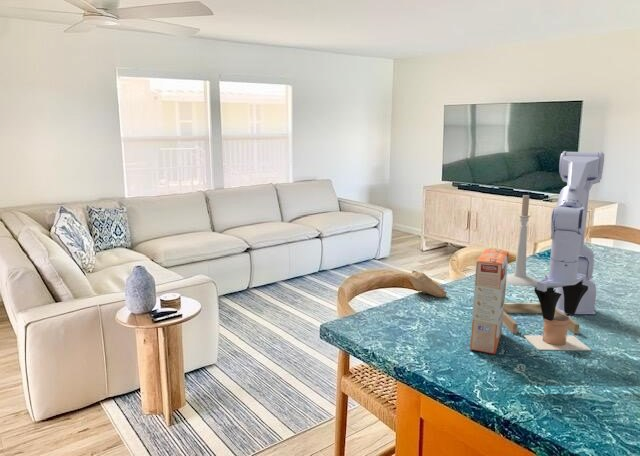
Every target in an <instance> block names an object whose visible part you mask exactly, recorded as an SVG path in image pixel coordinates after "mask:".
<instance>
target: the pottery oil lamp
mask: <svg viewBox="0 0 640 456" xmlns="http://www.w3.org/2000/svg"><path fill="white" fill-rule="evenodd" d="M408 276H409V278H410V281H411V283H412V285H413V286H412V287H413V288H414V289H416V290H418V291H420V292H422V293H423V294H428V295H432V296H434V297H437V298H445V297H447V295H448V294H447V291H446V290H445V289H444V288H443V287H442V286H441V285H440V284H438V283H437V282H436V281H434V280H433V279H432V277H429V276H428V275H426V274H425V273H424V272H423V271H422V272H421V271H418V270H412V271H411V273H409V275H408Z"/></svg>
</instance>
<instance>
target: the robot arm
mask: <svg viewBox="0 0 640 456" xmlns="http://www.w3.org/2000/svg"><path fill="white" fill-rule="evenodd" d="M604 162H605V153H604V152H603V151H566V150H563V151H562V153H560V157H559V165H558V169H559V170H558V172H559V176H560V178H561V180H562V182H564V183H566V186H564V187H562V189H560V192H559V196H558V199H557V204H556V207H555V208H553V209H552V211H551V216H550V231H551V232H550V239H551V246H550V247H551V248H550V257H549V258H550V259H549V266H548V267H549V269H548V273H547V274H546V273H545V274H544V278H543V279H541V280H538V281H537V285H536V286H535V287H534V293H535V295H536V297H537V299H538V301H539V302H538V303H540V305H541V310H542V313H541V314H542V319H543V318H544V319H547V320H549V321H552V320H553V318H554V314H555V308H557V309H558V310H560V311H561V312H562V313H564V314H565V315H570V316H574V315H596V313H597V312H596V311H595V306H596V298H597V287H596V283H595V282H594V280H592V279H593V273H594V265H595V260H594V258H595V254H594V250H592V249H591V248H589V247H588V246H587V245H586V244H585V237H586V224H587V216H588V215H587V214H588V206H589V197H590V196H589V195H590V190H591V188H592V186H593V185H595V184H598V183H599V184H600V183H601V180H602V177H603V171H604V166H605V165H604V164H605V163H604ZM554 289H555V290H554Z"/></svg>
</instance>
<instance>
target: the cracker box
mask: <svg viewBox="0 0 640 456" xmlns="http://www.w3.org/2000/svg"><path fill="white" fill-rule="evenodd" d="M508 263H509V251H507V250H498V249H497V250H496V249H487V248H486V249H484V250H483V251H482V252H481V254H480V255H479V257H478V259H476V263H475V264H476V265H475V277H474V291H473V303H472V314H471V315H472V316H471V317H472V318H471V331H470V332H471V333H470V343H469V346H470V347H469V349H470V350H471V351H477V352H482V353H486V354H491V355H496V353H497V351H498V350H497V349H498V346H499V343H500V340H501V336H502V332H503V323H502V322H503V312H504V303H505V300H506V299H505V298H506V291H507V290H506V288H507V287H506V286H507V283H506V278H507V275H508Z"/></svg>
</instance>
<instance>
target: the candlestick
mask: <svg viewBox="0 0 640 456" xmlns="http://www.w3.org/2000/svg"><path fill="white" fill-rule="evenodd" d="M521 203H522V204H521V214H519V215H518V217H519V221H520V224H521V225H520V226H519V235H518V242H517V250H516V258H515V266H514V272H513V273H510V274H507V278H506V285H511V286H517V287H518V286H519V287H534V286H535V287H536V286H537V281H539V280H538V279H537V278H534V277H532V276H529V275H527V242H528V239H527V237H528V234H527V233H528V226H527V224H528V222H529V219H530V217H531V215H529V206H530V195H528V194H525V195H524V194H523V195H522V202H521Z"/></svg>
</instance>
